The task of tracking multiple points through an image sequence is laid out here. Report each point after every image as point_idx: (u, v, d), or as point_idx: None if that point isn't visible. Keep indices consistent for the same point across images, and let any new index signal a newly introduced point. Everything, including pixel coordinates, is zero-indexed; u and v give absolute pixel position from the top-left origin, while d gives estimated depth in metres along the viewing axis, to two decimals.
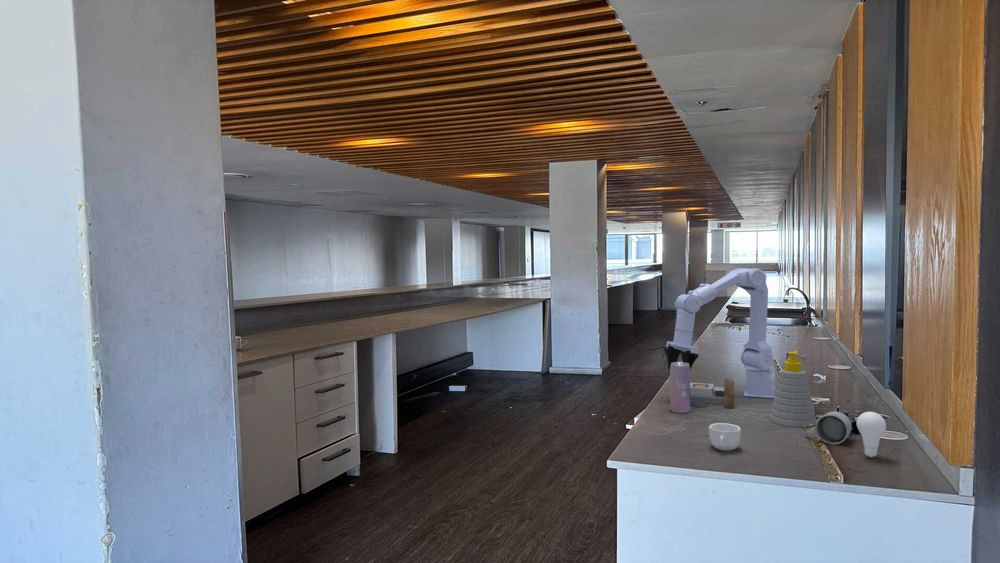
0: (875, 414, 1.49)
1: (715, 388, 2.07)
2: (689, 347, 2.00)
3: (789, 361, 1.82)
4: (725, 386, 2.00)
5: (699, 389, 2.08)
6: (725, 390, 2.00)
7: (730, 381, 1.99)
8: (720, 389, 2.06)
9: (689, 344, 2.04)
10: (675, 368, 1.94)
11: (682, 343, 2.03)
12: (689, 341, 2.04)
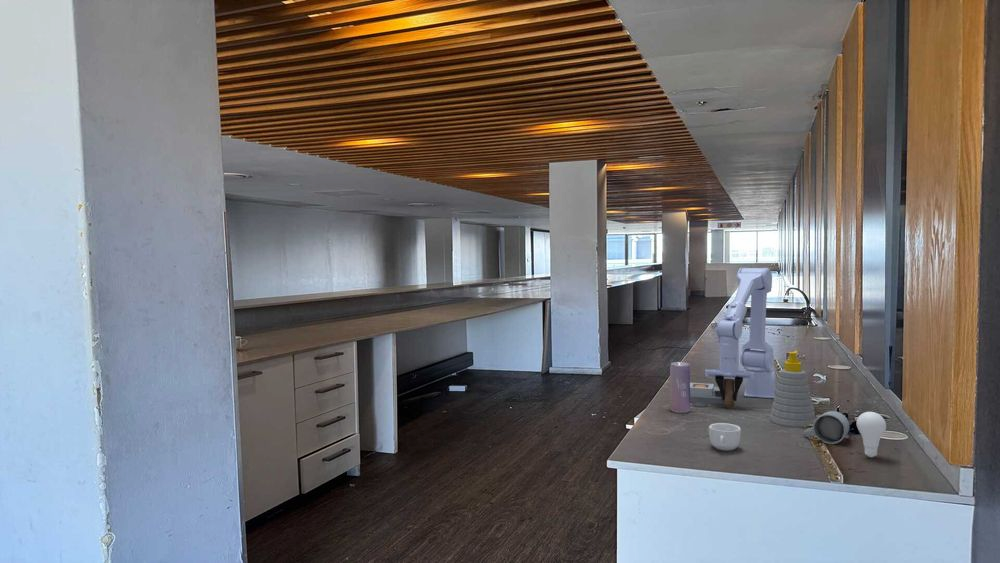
0: (875, 414, 1.49)
1: (715, 388, 2.07)
2: (748, 374, 1.97)
3: (789, 361, 1.82)
4: (725, 386, 2.00)
5: (699, 389, 2.08)
6: (725, 390, 2.00)
7: (730, 381, 1.99)
8: None
9: None
10: (675, 368, 1.94)
11: (736, 371, 1.98)
12: None
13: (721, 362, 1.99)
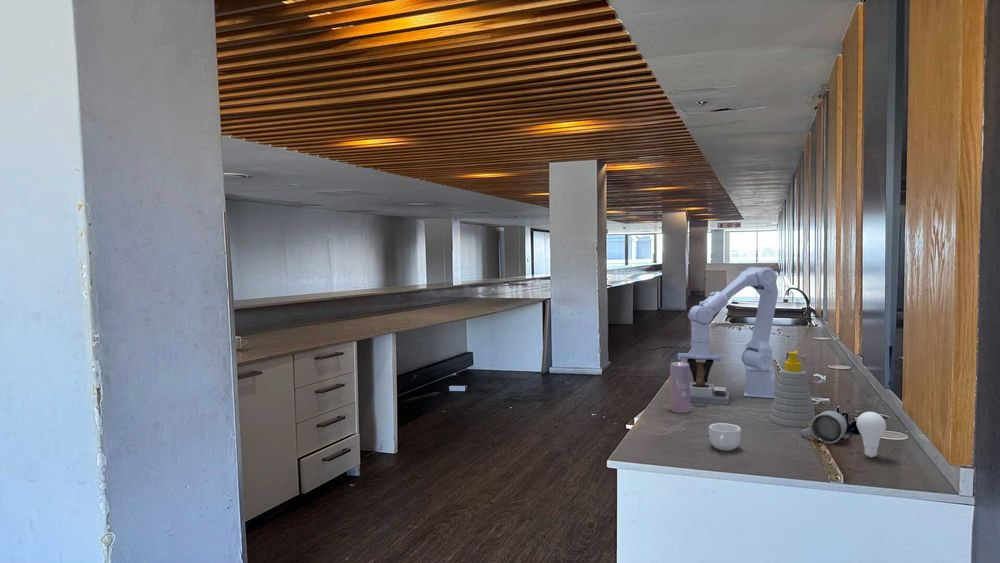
0: (875, 414, 1.49)
1: (715, 388, 2.07)
2: (718, 356, 2.08)
3: (789, 361, 1.81)
4: (697, 369, 2.11)
5: (699, 389, 2.08)
6: (697, 373, 2.11)
7: (701, 364, 2.10)
8: (720, 389, 2.06)
9: None
10: (675, 368, 1.94)
11: (707, 354, 2.09)
12: None
13: (693, 346, 2.10)
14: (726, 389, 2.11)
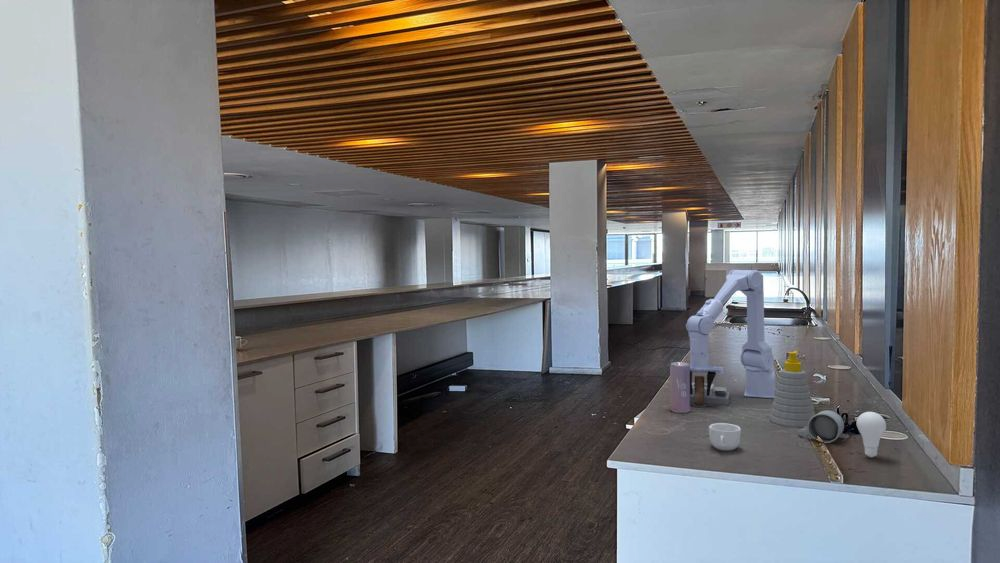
0: (875, 414, 1.49)
1: (715, 388, 2.07)
2: (717, 369, 2.00)
3: (789, 361, 1.82)
4: (696, 383, 2.03)
5: None
6: (696, 387, 2.03)
7: (701, 378, 2.02)
8: (720, 389, 2.06)
9: None
10: (675, 368, 1.94)
11: (706, 366, 2.01)
12: None
13: (691, 357, 2.02)
14: (726, 389, 2.11)
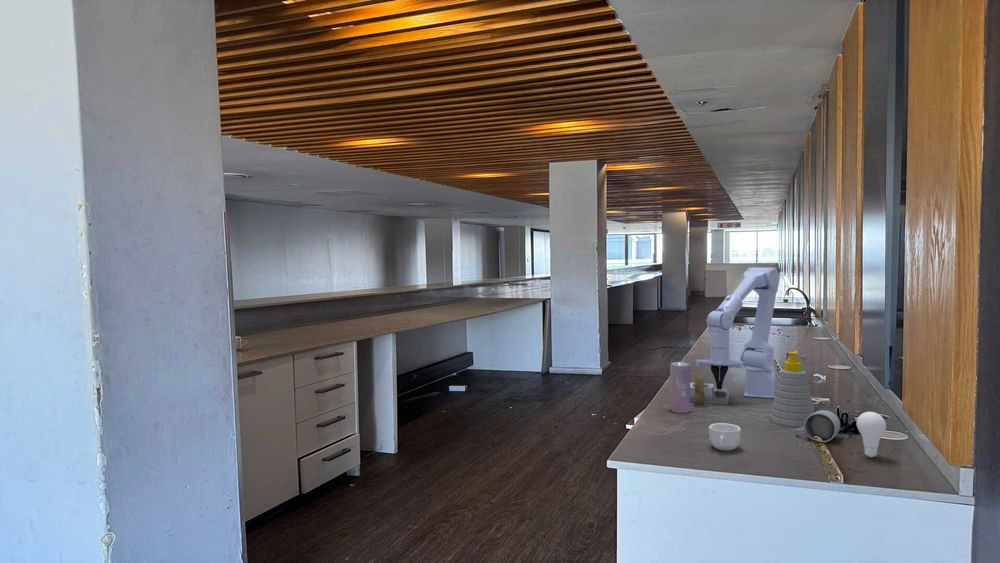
0: (875, 414, 1.49)
1: (715, 388, 2.07)
2: (737, 363, 2.02)
3: (789, 361, 1.82)
4: (696, 383, 2.02)
5: None
6: (696, 387, 2.03)
7: (700, 378, 2.02)
8: (720, 389, 2.06)
9: None
10: (675, 368, 1.94)
11: (726, 360, 2.03)
12: None
13: (712, 352, 2.05)
14: (726, 389, 2.11)
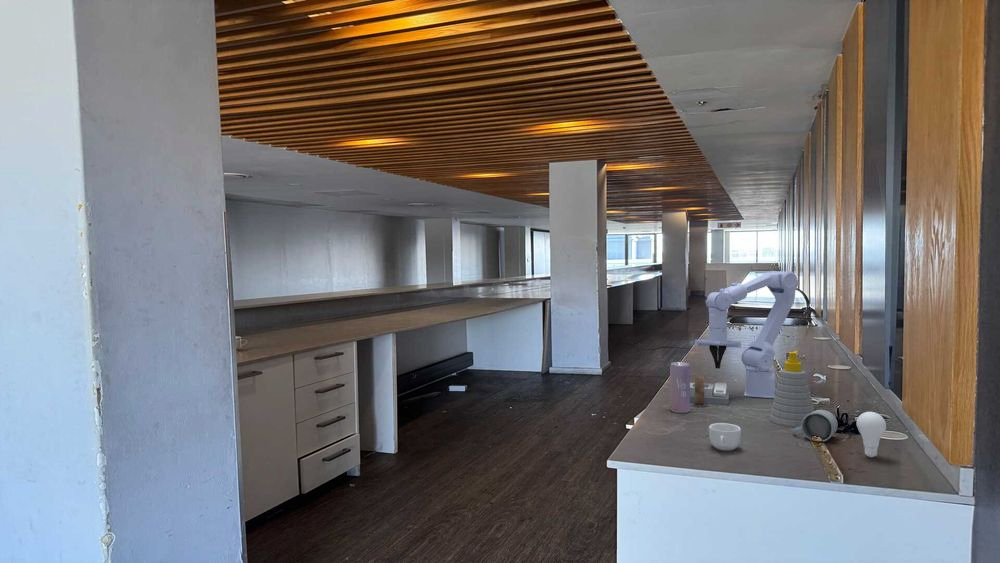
0: (875, 414, 1.49)
1: (715, 394, 2.07)
2: (735, 343, 2.08)
3: (789, 361, 1.82)
4: (696, 383, 2.02)
5: None
6: (696, 387, 2.03)
7: (700, 378, 2.02)
8: (720, 395, 2.06)
9: None
10: (675, 368, 1.94)
11: (725, 340, 2.09)
12: None
13: (710, 332, 2.11)
14: (726, 385, 2.11)
